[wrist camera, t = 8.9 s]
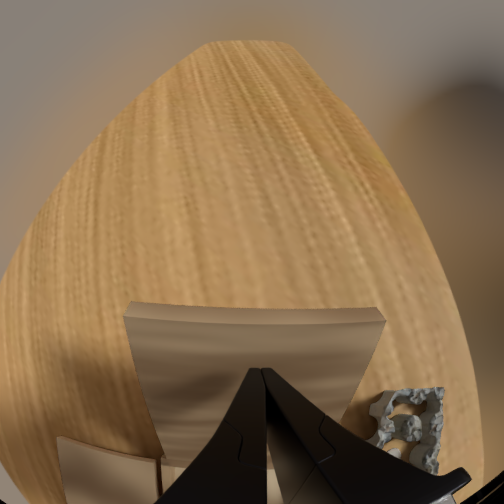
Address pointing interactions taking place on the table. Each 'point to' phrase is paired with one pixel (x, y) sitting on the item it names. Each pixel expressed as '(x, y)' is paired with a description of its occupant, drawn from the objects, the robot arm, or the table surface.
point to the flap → (242, 361)
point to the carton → (123, 475)
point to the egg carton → (411, 425)
